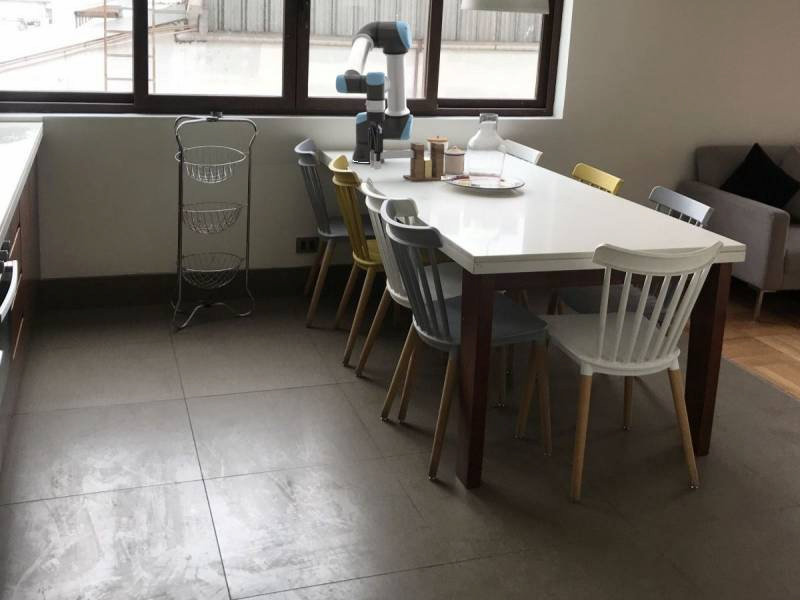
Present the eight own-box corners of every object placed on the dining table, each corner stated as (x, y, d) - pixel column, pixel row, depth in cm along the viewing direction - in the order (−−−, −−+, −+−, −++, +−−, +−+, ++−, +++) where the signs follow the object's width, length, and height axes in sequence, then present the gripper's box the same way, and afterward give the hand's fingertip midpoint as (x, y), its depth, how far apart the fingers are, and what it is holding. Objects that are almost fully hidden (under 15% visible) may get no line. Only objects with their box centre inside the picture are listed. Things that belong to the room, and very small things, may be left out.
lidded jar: (441, 156, 467) (441, 137, 464) (422, 154, 473) (423, 135, 470) (452, 154, 476) (452, 135, 473) (434, 152, 481) (434, 133, 479)
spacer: (418, 175, 405) (419, 157, 403) (425, 175, 406) (425, 157, 404) (424, 178, 399) (425, 160, 397) (431, 177, 400) (431, 160, 398)
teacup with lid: (467, 173, 417) (468, 147, 414) (449, 175, 414) (449, 148, 410) (456, 169, 428) (456, 143, 424) (437, 170, 424) (438, 144, 421)
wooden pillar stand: (403, 177, 406) (403, 142, 401) (439, 175, 411) (440, 140, 407) (413, 182, 395) (413, 145, 391) (450, 180, 401) (451, 144, 396)
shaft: (370, 159, 395) (370, 149, 393) (415, 157, 401) (416, 147, 400) (374, 161, 391) (374, 150, 389) (419, 159, 397) (419, 148, 396)
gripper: (360, 109, 394) (360, 165, 401) (373, 113, 378) (373, 171, 385) (377, 108, 396) (377, 164, 403) (391, 112, 381) (391, 170, 387)
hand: (375, 168), depth 394 cm, fingers closed on shaft, 4 cm apart
